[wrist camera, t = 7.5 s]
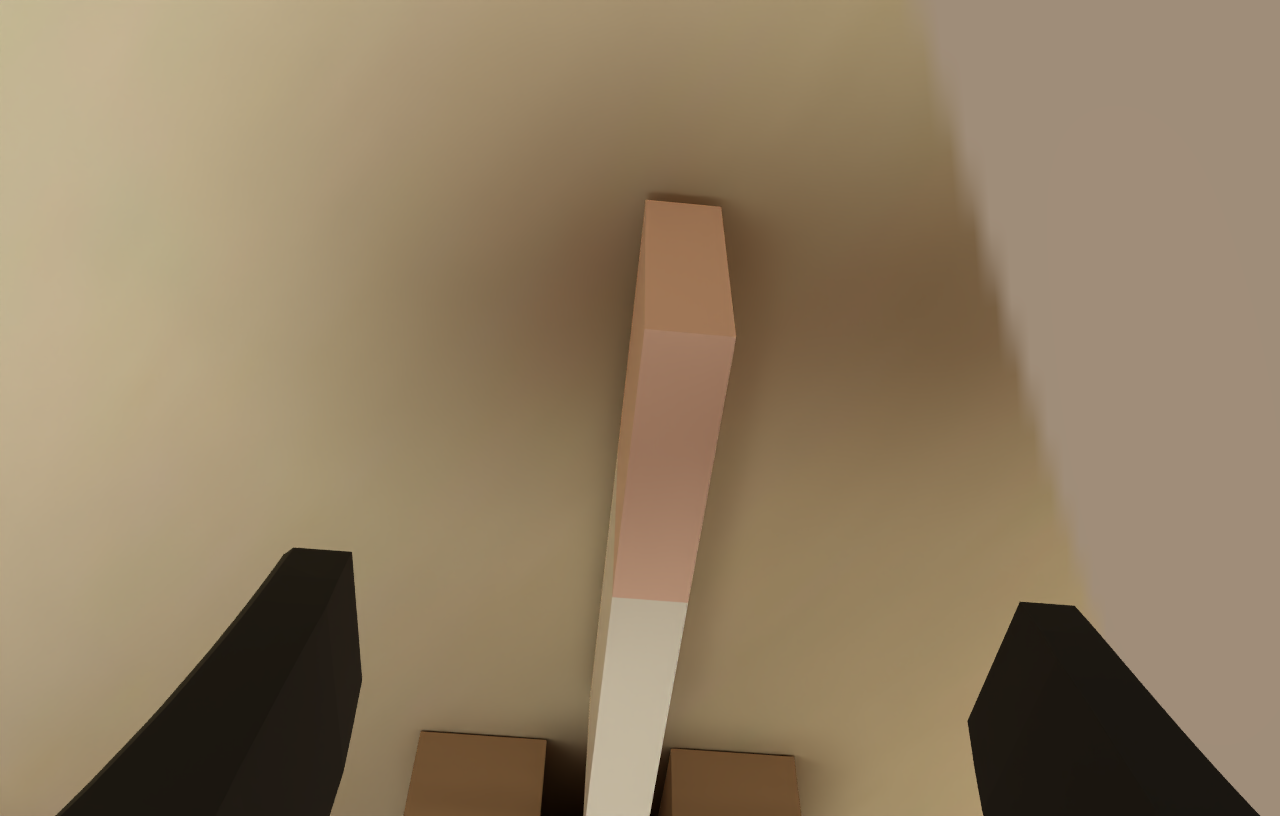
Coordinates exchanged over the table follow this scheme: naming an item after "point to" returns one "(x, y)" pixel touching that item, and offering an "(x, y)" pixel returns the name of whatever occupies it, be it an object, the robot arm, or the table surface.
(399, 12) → the table surface
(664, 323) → the pink flat bar
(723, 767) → the dispenser
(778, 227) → the table surface
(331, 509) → the table surface
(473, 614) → the table surface
